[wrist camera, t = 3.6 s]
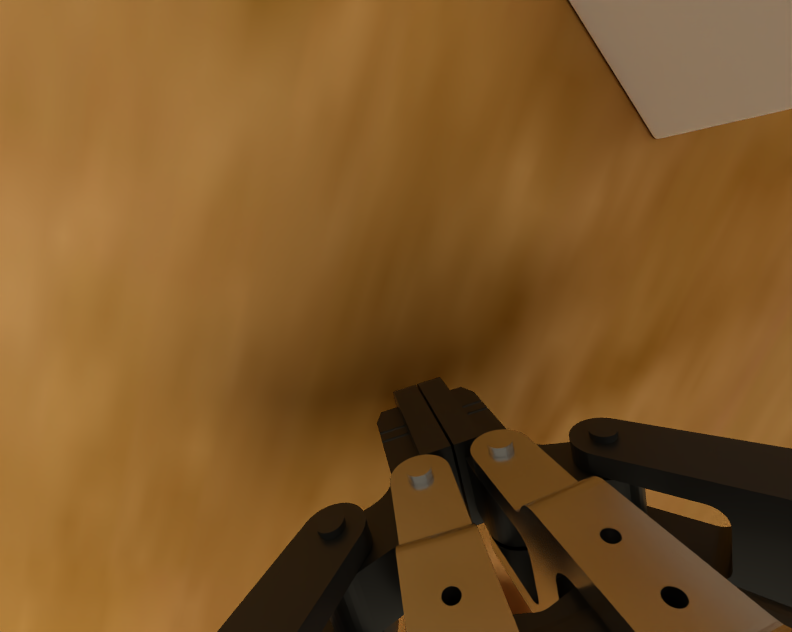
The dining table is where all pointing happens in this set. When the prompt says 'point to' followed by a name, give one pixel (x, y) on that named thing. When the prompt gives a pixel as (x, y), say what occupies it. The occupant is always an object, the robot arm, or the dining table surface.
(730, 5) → the milk
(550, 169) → the dining table surface
